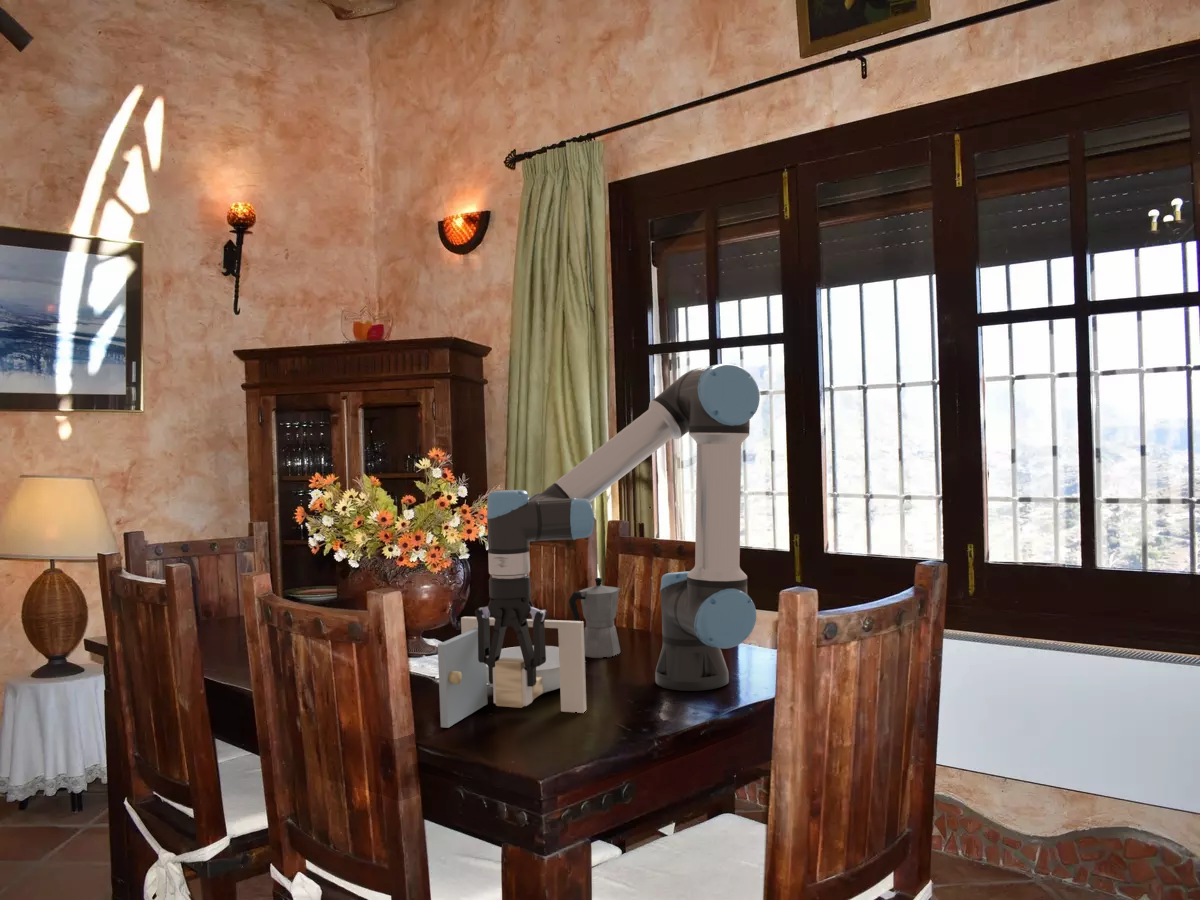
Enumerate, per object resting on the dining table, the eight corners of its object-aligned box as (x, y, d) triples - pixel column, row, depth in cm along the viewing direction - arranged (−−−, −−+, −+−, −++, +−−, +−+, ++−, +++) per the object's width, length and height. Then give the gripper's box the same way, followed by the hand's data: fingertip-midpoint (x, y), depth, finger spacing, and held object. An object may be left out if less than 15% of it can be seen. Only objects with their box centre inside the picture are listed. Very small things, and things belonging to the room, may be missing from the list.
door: (456, 728, 175) (452, 645, 175) (440, 727, 176) (437, 644, 176) (496, 703, 190) (493, 626, 190) (482, 702, 191) (479, 626, 191)
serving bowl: (487, 709, 188) (486, 673, 188) (472, 682, 208) (471, 650, 208) (591, 697, 194) (590, 663, 193) (567, 673, 214) (565, 641, 214)
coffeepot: (609, 645, 238) (607, 572, 238) (635, 651, 231) (632, 576, 231) (559, 657, 229) (556, 580, 228) (584, 663, 221) (581, 584, 221)
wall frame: (586, 710, 184) (583, 621, 184) (583, 713, 183) (580, 622, 182) (467, 702, 193) (464, 616, 193) (464, 704, 191) (460, 618, 191)
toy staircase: (518, 691, 186) (517, 649, 186) (542, 693, 185) (541, 651, 184) (496, 705, 177) (495, 661, 177) (521, 707, 175) (520, 663, 175)
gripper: (455, 576, 177) (459, 704, 177) (547, 579, 171) (550, 712, 171) (474, 571, 184) (478, 693, 184) (563, 573, 178) (566, 700, 178)
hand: (513, 702), depth 178 cm, fingers closed on toy staircase, 5 cm apart
